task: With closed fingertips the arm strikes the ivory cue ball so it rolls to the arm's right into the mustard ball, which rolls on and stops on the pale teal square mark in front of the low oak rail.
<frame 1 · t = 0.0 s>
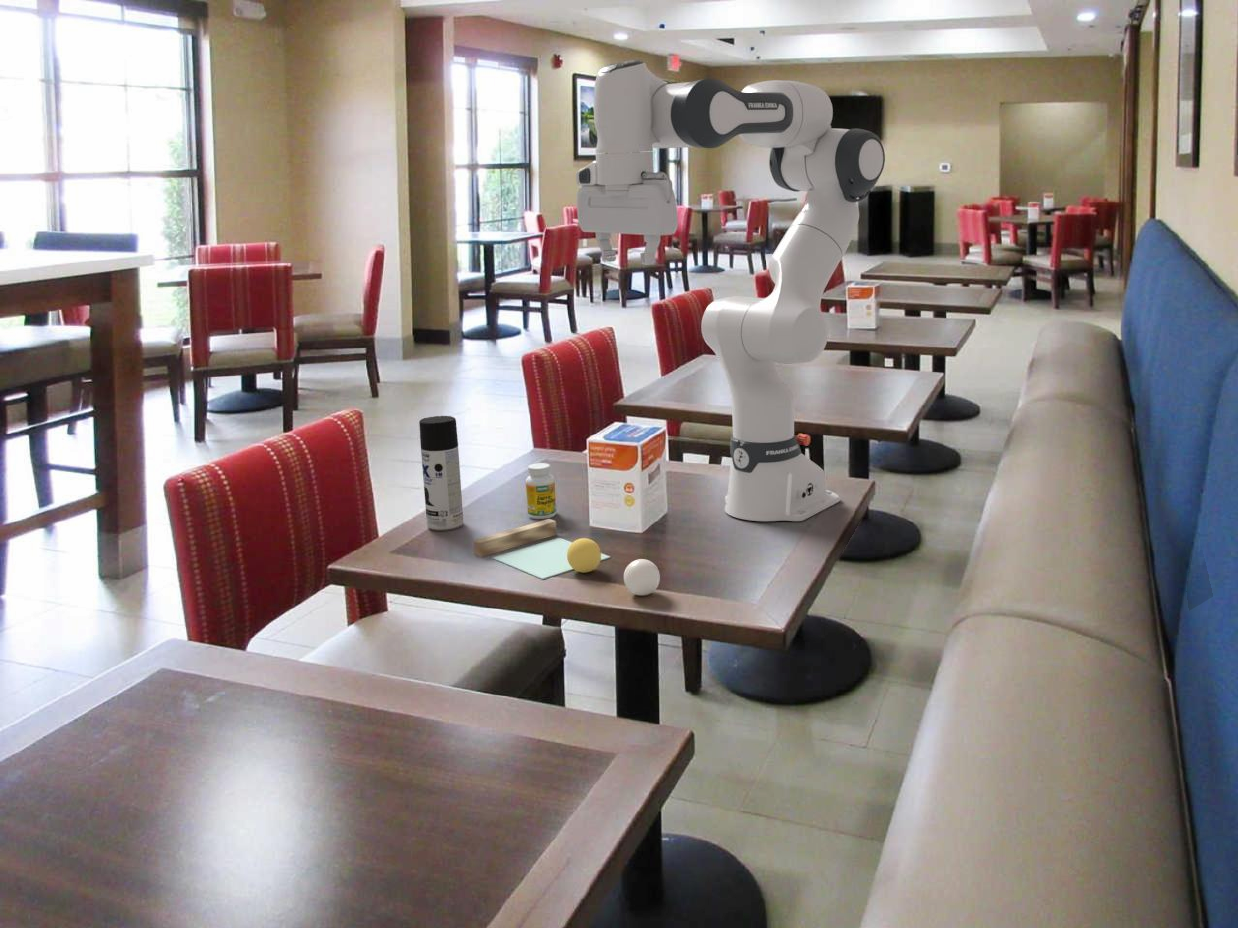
hand: (628, 263, 183), 48 cm above the table, tool pointing down, fingers open, 8 cm apart
spray can: (445, 526, 213), on the table
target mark: (551, 558, 194), on the table
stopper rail: (516, 544, 201), on the table
ball a: (641, 577, 176), on the table
supplement bottle: (542, 516, 217), on the table
ball b: (584, 555, 186), on the table
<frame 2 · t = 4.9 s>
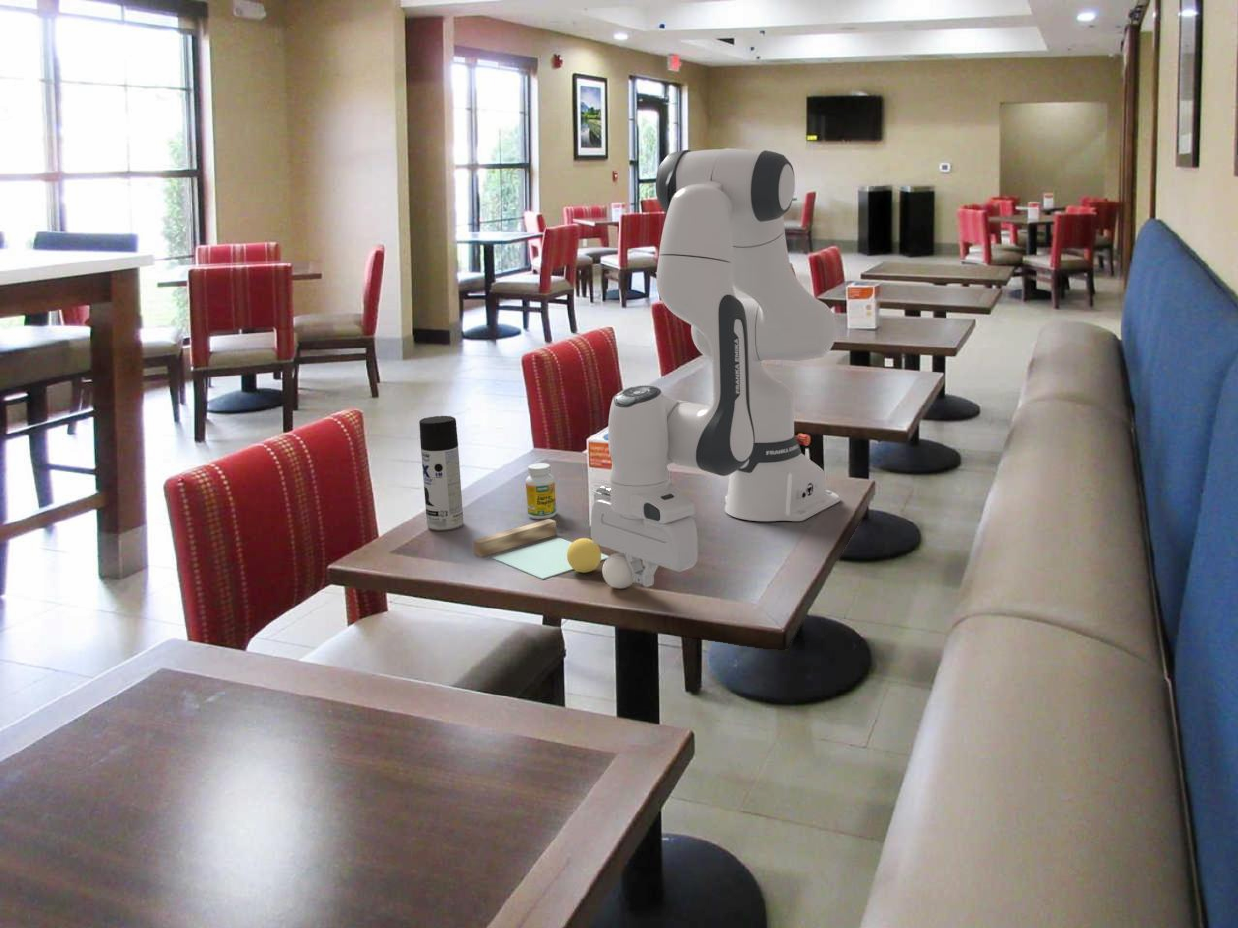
hand: (643, 583, 176), 2 cm above the table, tool pointing down, fingers closed
ball a: (620, 570, 179), on the table
everything else where it was.
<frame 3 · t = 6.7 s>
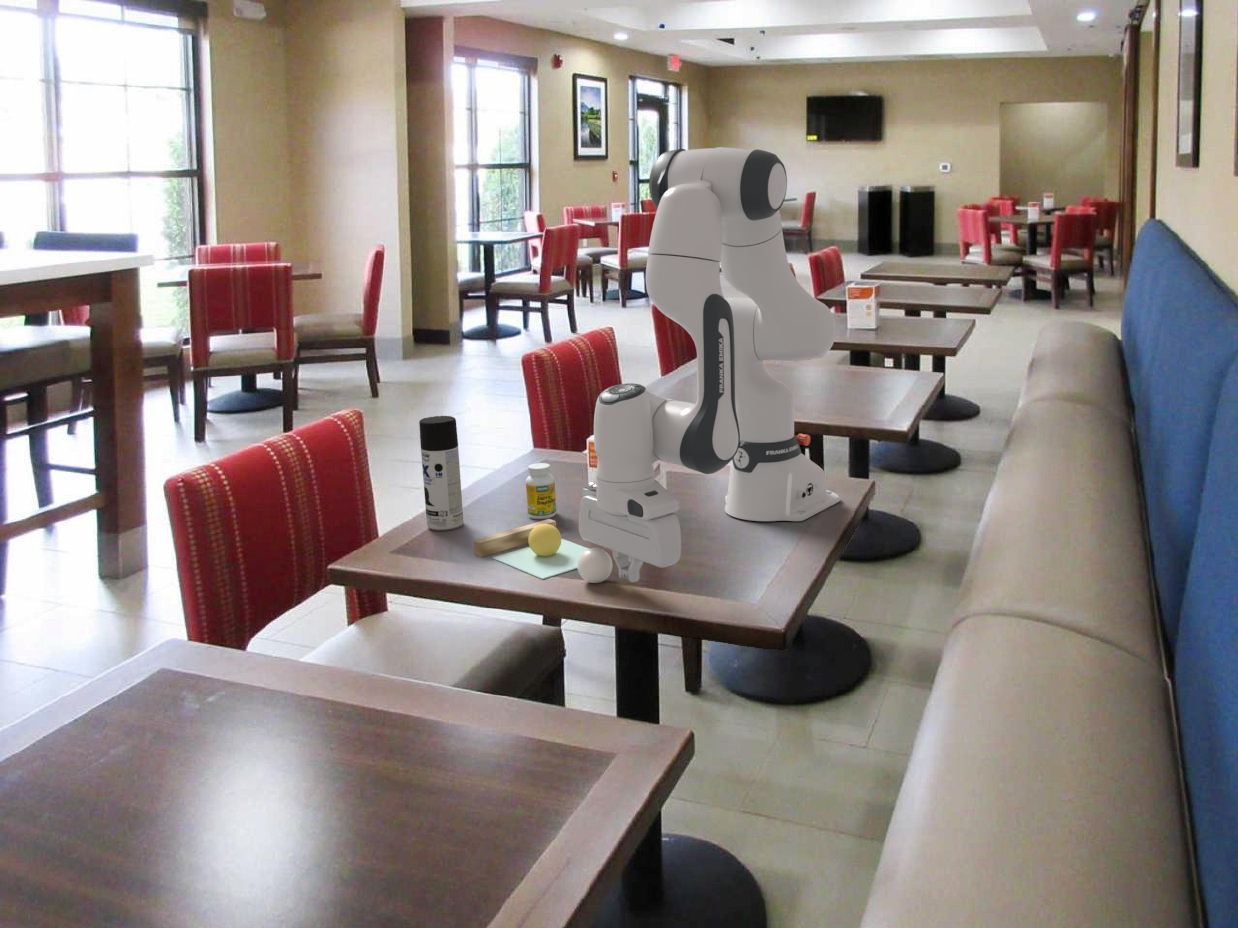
hand: (629, 579, 179), 2 cm above the table, tool pointing down, fingers closed
ball a: (594, 565, 182), on the table
ball b: (544, 540, 194), on the table
everything else where it was.
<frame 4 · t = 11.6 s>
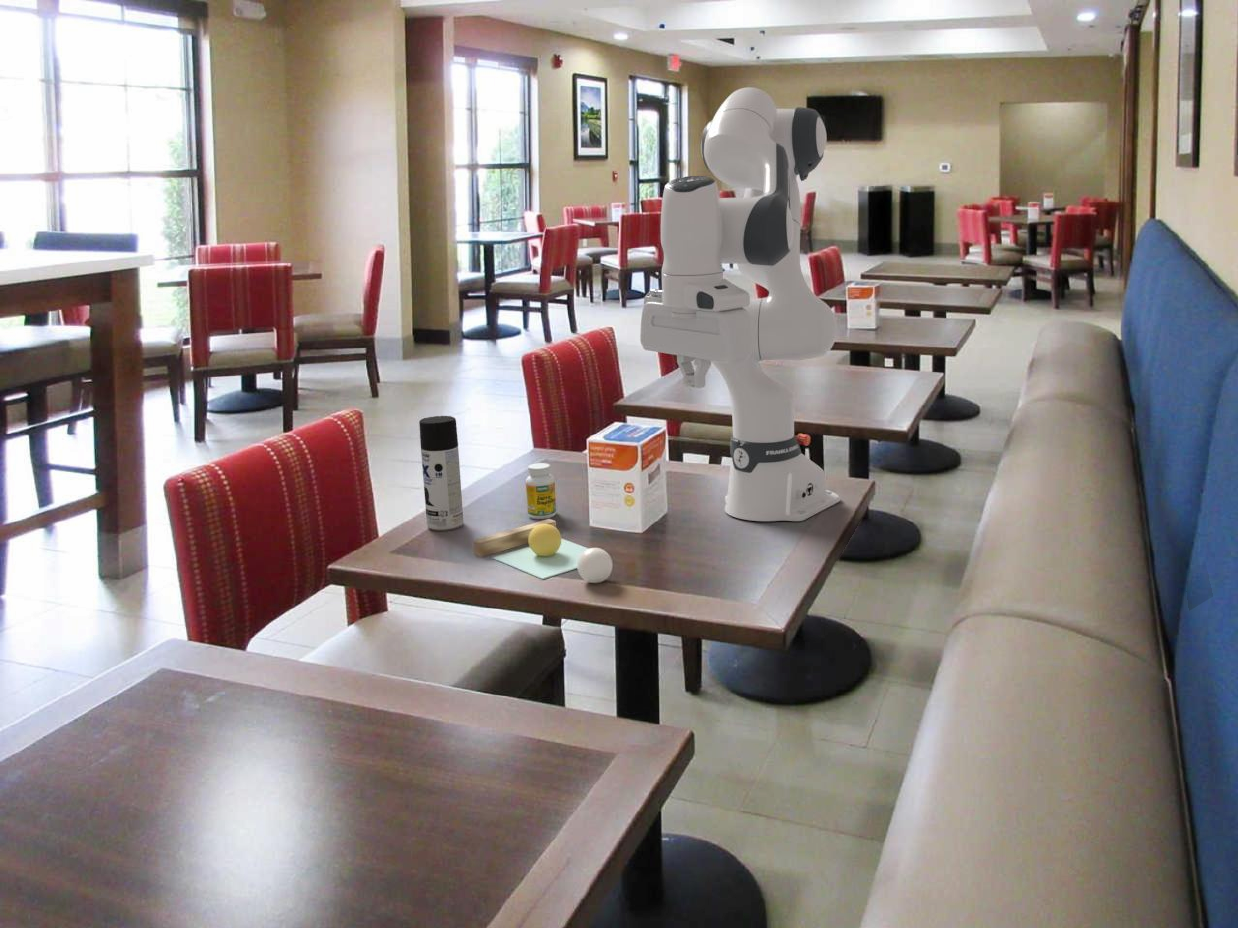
hand: (694, 386, 172), 31 cm above the table, tool pointing down, fingers closed
nothing on the table moved.
at the end: ball b 1.6 cm from the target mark (horizontally); ball b never touched the robot; ball a first touched ball b at 5.0 s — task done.
